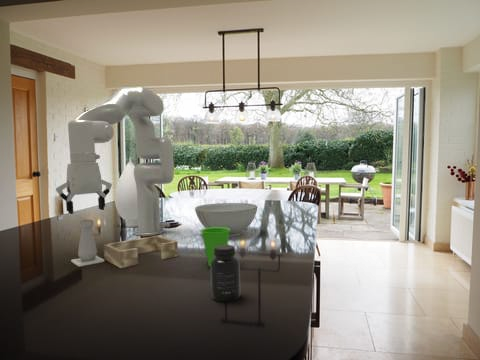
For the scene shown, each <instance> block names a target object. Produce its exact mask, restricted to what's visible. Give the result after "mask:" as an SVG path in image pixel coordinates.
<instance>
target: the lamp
mask: <svg viewBox="0 0 480 360" xmlns="http://www.w3.org/2000/svg"><path fill="white" fill-rule="evenodd" d="M135 166H136V165H135V164H134V162H132V157H131V156H129V161H128V162H127V163H126V165H125V167H124V169H123V171H122V173H121V175H120V177H119V179H118V181H117V183H116V186H115V191H114V204H115V208H116V212H117V213H118V215H119V217H121V218H122V220H124V221H125V220H126V222H125V227H127V228H134V227H138V209H137V189H136V182H135V178H134V168H135Z"/></svg>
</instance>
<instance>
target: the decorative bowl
mask: <svg viewBox="0 0 480 360" xmlns="http://www.w3.org/2000/svg"><path fill="white" fill-rule="evenodd" d="M258 207H259V206H258V205H257V204H253V203H247V202H245V203H244V202H218V203H217V202H216V203H208V204H207V203H206V204H201V205H198V206H197V205H196V206H195V207H194V211H195V214H196V216H197V219H198V220H199V222H200V223H201V225H202V226H203V227H204V229H205V228H210V227H225V228H229V229H230V231H229V238H234V237H238V236H240V235H242V232H244V231H245V230H246V229H247V228H249V226H250V225H251V224H252V223H253V222H254V219H255V217H256V215H257V212H258Z"/></svg>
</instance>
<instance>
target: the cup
mask: <svg viewBox="0 0 480 360" xmlns="http://www.w3.org/2000/svg"><path fill="white" fill-rule="evenodd" d="M229 231H230V229H229V228H225V227H210V228H205V227H204V228H202V229H201V230H200V232H201V235H202V240H203V245H204V251H205V256H206V261H207V266H208V267H210V268H211V261H212V259H213V258H215V256H214V247H216V246H219V245H229V238H230V237H229Z"/></svg>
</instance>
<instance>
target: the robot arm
mask: <svg viewBox="0 0 480 360" xmlns="http://www.w3.org/2000/svg"><path fill="white" fill-rule="evenodd" d="M164 106H165V105H164V101H163V100H162V98H161V97H160V96H159V95H158V94H157V93H155V92H154V91H153V90H150V89H149V88H147V87H145V86H129V87H126V86H125V87H121V88H118V89H117V90H115V91H114V93H113V94H111V96H110V97H109V98H108V99H107V100H106V101H105V102H103V103H102V104H100V105H99V104H98V105H97V106H95V107H93V108H91V109H88V110H87V111H85V112H82V113H81V114H80V115H78V116H77V118H75V119H74V120H73V119H72V120H70V121H69V122H68V124H67V130H68V146H69V147H68V148H69V159H70V160H69V161H70V163H67V166H66V167H67V168H66V181H65V183H62V184H61V185H58V186H57V187H56V188H55V191H56V192H57V194H58V196H59V197H60V198H62V199H63V200H64V201H65V206H66V207H65V208H66V212H68V213H69V214H70V215H73V214H74V212H75V211H74V202H73V201H72V200H73V198H74V197H75V195H76V196H77V195H88V194H90V195H91V194H96V195H98V198H97V201H98V204H97V205H98V209H99V210H101V211H104V210H105V208H106V200H105V199H106V198H107V195H109V193H110V190H111V188H112V186H113V184H112V183H111V182H109V181H106V180H104V179H102V174H101V171H100V166H99V163H98V162H96V161H97V160H99V159H100V158H101V156H100V154H97V153H96V147H95V146H96V144H104V143H108V142H110V141H111V140H112V139H113V137H114V132H115V131H114V128H113V126H112V125H115V124H119V123H120V122H121V121H123V120H124V118H126V116H127V117H128V118H129V119H130V120H131V122H132V124H133V127H134V131H135V132H134V133H135V134H134V135H135V150H136V156H137V157H138V158H139V159H140V160H160V161H159V162H158V161H157V162H155V161H154V162H151V161H150V162H149V161H146V162H140V163H138V164H137V165H134V166H135V168H134V178H135V182H136V189H137V209H138V226H137V230H134V235H135V236H139V237H141V236H142V237H152V236H159V235H162V234H163V233H165V231H164V228H168V227H169V228H170V226H171V223H170V222H162V221H161V215H160V213H161V212H160V211H161V210H160V193H159V191H158V189H157V187H156V186H155V185H165V184H166V185H167V184H171V183H172V182H173V180H174V177H175V166H174V165H175V164H174V149H173V148H174V147H173V144H172V141H171V140H170V138H168V137H163V136H160V137H157V136H156V126H155V124H154V122H153V121H152V119H151V118H152V117H159V116H161V115H162V114H163V112H164V108H165V107H164ZM103 185H104V186H105V188H104V190H103ZM65 189H66V192H67V195H66V194H65V193H64V192H63V190H65ZM102 190H103V191H102Z"/></svg>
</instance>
